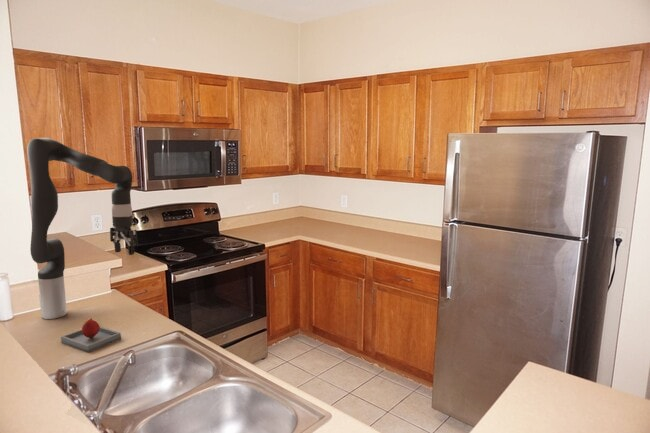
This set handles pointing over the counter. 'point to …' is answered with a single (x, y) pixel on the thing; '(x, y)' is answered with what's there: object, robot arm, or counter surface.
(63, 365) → the counter surface
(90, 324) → the onion
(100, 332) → the tray
